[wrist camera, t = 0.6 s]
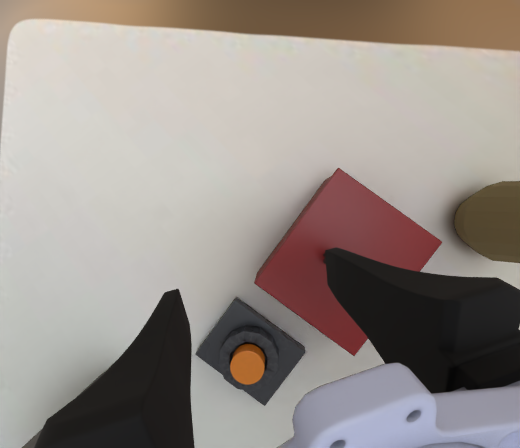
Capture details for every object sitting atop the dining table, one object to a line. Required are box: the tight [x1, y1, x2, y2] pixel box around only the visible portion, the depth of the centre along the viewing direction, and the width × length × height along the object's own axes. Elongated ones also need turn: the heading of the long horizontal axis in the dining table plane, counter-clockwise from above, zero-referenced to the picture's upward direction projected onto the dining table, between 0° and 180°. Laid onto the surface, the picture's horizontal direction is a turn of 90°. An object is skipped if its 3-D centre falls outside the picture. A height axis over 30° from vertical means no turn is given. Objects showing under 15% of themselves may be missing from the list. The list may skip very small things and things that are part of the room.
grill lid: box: [254, 168, 442, 356], centre depth 27 cm, size 14×12×4 cm
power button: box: [230, 344, 265, 385], centre depth 31 cm, size 4×4×2 cm
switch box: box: [196, 298, 305, 406], centre depth 33 cm, size 10×8×3 cm
